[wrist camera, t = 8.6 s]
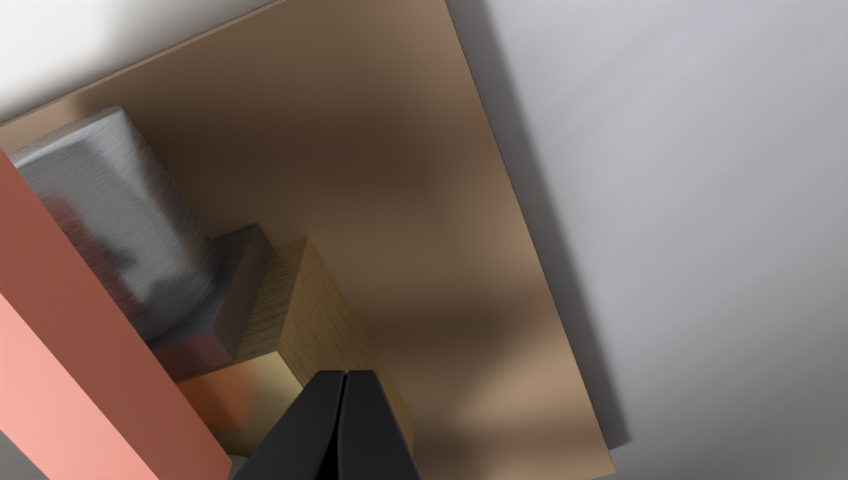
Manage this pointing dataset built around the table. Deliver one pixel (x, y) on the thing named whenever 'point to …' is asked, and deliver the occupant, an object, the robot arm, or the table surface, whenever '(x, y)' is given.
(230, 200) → the board
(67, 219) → the valve
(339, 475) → the robot arm
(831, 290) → the table surface
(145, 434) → the lever
